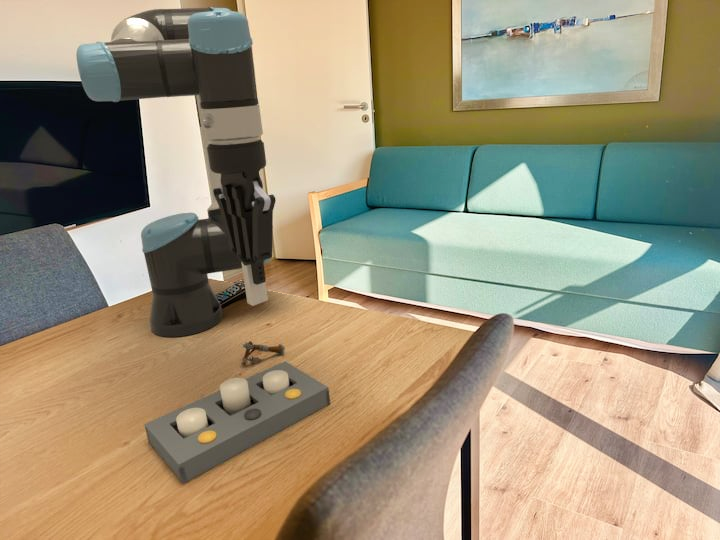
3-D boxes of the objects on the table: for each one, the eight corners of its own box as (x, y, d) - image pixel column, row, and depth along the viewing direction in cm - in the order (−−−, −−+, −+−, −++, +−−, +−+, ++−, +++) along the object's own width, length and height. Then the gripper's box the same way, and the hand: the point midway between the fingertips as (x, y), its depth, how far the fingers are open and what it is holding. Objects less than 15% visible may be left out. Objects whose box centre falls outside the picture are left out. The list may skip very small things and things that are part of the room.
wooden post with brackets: (235, 362, 93) (242, 339, 93) (275, 365, 98) (281, 342, 98) (239, 366, 92) (245, 342, 91) (279, 369, 97) (285, 346, 96)
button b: (219, 407, 78) (215, 385, 76) (242, 396, 80) (239, 374, 79) (231, 418, 75) (228, 395, 74) (255, 406, 77) (252, 384, 76)
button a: (176, 438, 74) (171, 416, 73) (202, 426, 76) (198, 404, 75) (188, 451, 71) (183, 428, 70) (214, 438, 74) (210, 415, 72)
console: (148, 441, 74) (143, 422, 73) (286, 376, 89) (284, 359, 88) (183, 483, 66) (178, 462, 65) (330, 403, 80) (328, 385, 79)
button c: (260, 397, 83) (257, 377, 81) (281, 387, 85) (279, 367, 84) (274, 407, 80) (271, 386, 78) (295, 397, 82) (293, 376, 81)
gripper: (187, 141, 71) (214, 298, 80) (234, 146, 62) (259, 322, 70) (235, 135, 76) (256, 284, 84) (285, 138, 67) (304, 305, 75)
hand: (257, 301), depth 77 cm, fingers closed
